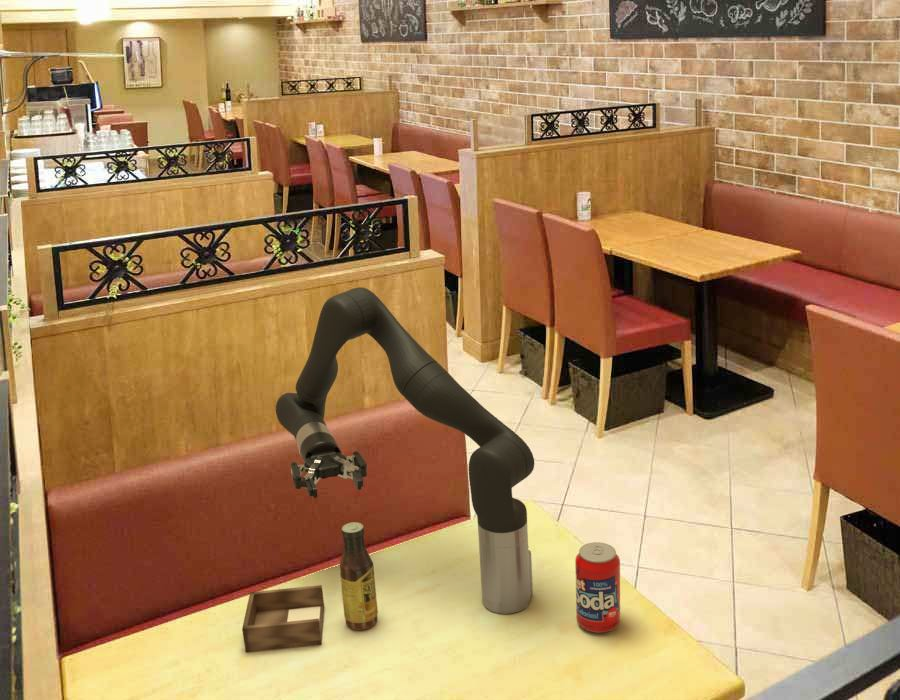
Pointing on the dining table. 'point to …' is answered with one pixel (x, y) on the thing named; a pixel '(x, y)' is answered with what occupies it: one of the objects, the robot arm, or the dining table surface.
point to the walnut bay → (284, 618)
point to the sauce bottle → (357, 579)
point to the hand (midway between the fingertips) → (337, 490)
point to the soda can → (597, 587)
